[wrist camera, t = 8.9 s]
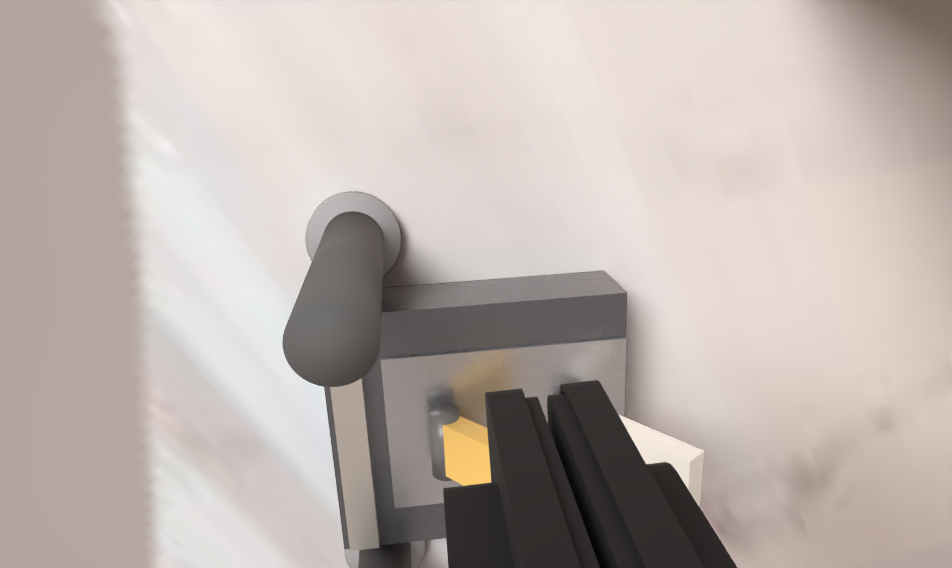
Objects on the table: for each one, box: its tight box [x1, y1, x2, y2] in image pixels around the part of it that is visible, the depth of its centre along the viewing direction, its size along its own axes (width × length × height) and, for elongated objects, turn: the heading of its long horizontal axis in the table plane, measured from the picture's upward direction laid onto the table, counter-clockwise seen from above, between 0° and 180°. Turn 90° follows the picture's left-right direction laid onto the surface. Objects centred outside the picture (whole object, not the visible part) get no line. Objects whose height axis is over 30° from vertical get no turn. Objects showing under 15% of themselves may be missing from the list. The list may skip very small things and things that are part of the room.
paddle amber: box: [428, 404, 491, 486], centre depth 33 cm, size 2×4×8 cm
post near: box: [283, 192, 401, 387], centre depth 29 cm, size 5×5×15 cm
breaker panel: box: [324, 271, 627, 551], centre depth 38 cm, size 16×14×5 cm
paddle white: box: [619, 415, 704, 507], centre depth 33 cm, size 2×4×8 cm
